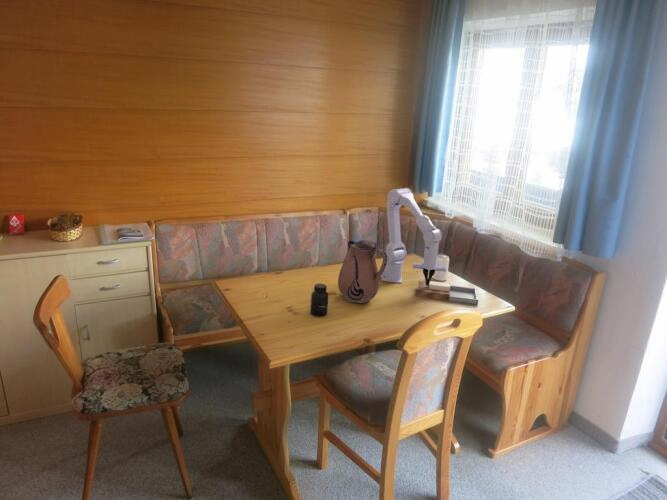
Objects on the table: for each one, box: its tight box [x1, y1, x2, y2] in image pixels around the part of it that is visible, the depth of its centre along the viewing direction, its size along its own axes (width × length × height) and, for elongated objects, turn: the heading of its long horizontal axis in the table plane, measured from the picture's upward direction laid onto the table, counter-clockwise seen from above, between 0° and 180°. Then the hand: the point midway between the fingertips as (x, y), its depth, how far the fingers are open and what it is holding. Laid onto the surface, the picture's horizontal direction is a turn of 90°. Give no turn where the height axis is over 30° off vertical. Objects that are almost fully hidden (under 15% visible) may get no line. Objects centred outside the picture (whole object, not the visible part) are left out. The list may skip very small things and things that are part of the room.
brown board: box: [416, 280, 450, 302], centre depth 218 cm, size 14×12×3 cm
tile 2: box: [439, 281, 451, 291], centre depth 217 cm, size 4×4×2 cm
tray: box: [448, 284, 479, 306], centre depth 216 cm, size 12×14×2 cm
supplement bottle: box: [309, 283, 329, 318], centre depth 191 cm, size 7×7×12 cm
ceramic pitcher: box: [337, 239, 388, 304], centre depth 204 cm, size 18×21×25 cm
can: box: [432, 253, 450, 282], centre depth 236 cm, size 6×6×12 cm
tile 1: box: [429, 280, 441, 290], centre depth 218 cm, size 4×4×2 cm
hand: (427, 284), depth 218 cm, fingers closed
